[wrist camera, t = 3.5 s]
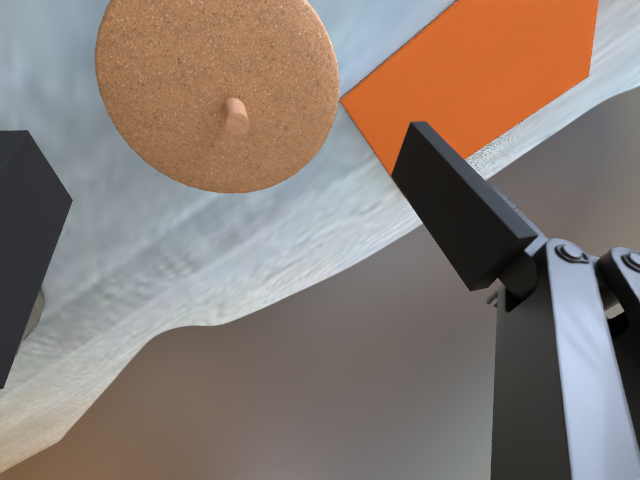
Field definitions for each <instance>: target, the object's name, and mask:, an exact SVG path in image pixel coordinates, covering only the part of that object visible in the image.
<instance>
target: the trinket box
mask: <svg viewBox="0 0 640 480" xmlns="http://www.w3.org/2000/svg"><path fill="white" fill-rule="evenodd" d="M95 65H96V77H97V81H98V86H99V91H100V95H101V97H102V100H103V103H104V105H105V108H106V110H107V113H108V115H109V117H110V118H111V120H112V122H113V123H114V125H115V127H116V129H117V130H118V132H119V133H120V134H121V136H122V137H123V138H124V140H125V141H126V142H127V143H128V145H129V146H130V147H131V148H132V149H133V150H134V151H135V152H136V153H137V154H138V155H139V156H140V157H141V158H142V159H143V160H144V161H146V162H147V163H148V164H150V165H151V166H152V167H154V168H155V169H156V170H158V171H159V172H161V173H163V174H165V175H166V176H168V177H170V178H172V179H173V180H176V181H178V182H180V183H183V184H185V185H187V186H190V187H194V188H197V189H201V190H205V191H211V192H216V193H247V192H252V191H257V190H261V189H264V188H268V187H271V186H274V185H276V184H278V183H280V182H282V181H284V180H286V179H288V178H289V177H291V176H292V175H294V174H296V173H297V172H298V171H299V170H301V169H302V168H303V167H304V166H305V165H306V164H307V163H308V162H309V161H310V160H311V159H312V158H313V157H314V156H315V155H316V154H317V152H318V151H319V149H320V148H321V146H322V145H323V143H324V142H325V140H326V138H327V136H328V134H329V132H330V130H331V128H332V125H333V122H334V119H335V116H336V112H337V106H338V101H339V82H340V81H339V72H338V63H337V59H336V56H335V52H334V48H333V44H332V42H331V40H330V38H329V35H328V33H327V31H326V28H325V26H324V24H323V23H322V21H321V20H320V18H319V16H318V15H317V13H316V12H315V10H314V8H313V7H312V6H311V5H310V4H309V3H308V1H307V0H111V1H110V3H109V4H108V6H107V8H106V11H105V13H104V16H103V19H102V21H101V24H100V26H99V29H98V36H97V42H96V48H95Z"/></svg>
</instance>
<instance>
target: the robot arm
mask: <svg viewBox="0 0 640 480" xmlns="http://www.w3.org/2000/svg"><path fill="white" fill-rule="evenodd" d="M391 177H392V178H393V180H394V181H395V183H396V184H397V186H398V187H399V189H400V190H401V191H402V193H403V194H404V196H405V197H406V199H407V200H408V202H409V203H410V205H411V206H412V208H413V209H414V210H415V212H416V213H417V215H418V216H419V218H420V219H421V221H422V222H423V224H424V225H425V226H426V228H427V229H428V231H429V232H430V234H431V235H432V237H433V238H434V239H435V241H436V243H437V244H438V245H439V247H440V248H441V250H442V251H443V252H444V254H445V256H446V257H447V259H448V260H449V261H450V263H451V264H452V266H453V267H454V268H455V270H456V271H457V273H458V275H459V276H460V277H461V279H462V280H463V282H464V283H465V285H466V286H467V288H468V289H469V291H475V290H479V289H484V288H488V287H489V286H490V285H491V284H492V283H493V282H494V281H495V280H496V278H499V279H500V281H501V282H502V283H503V284H502V285H501V286H500V287H499V288H498V289H497V290H496V291H495V292H494V293H493V294H492V295H491V296H490V297H489V298H488V299H487V302H486V303H487V304H490V303H491V302H492V301H493V300H494V299H495V298H498V300H497V303H496V304H495V305H494V307H497V326H496V353H495V354H496V355H495V377H494V403H493V404H494V405H493V431H492V455H491V480H640V253H638V252H637V251H635V250H631V249H628V248H625V247H615V248H612V249H611V250H610V251H608V252H607V253H606V254H605V255H603V256H602V257H601V256H593V255H587V254H586V253H585V252H584V251H583V250H582V249H581V248H579V247H578V246H577V245H575V244H573V243H571V242H569V241H567V240H563V239H559V238H554V239H553V238H552V239H550V240H549V239H548V238H547V237H546V236H545V235H544V234H543V233H542V232H541V231H540V230H539V229H538V228H537V227H536V226H535V225H534V224H533V223H532V222H531V221H530V220H529V219H528V218H527V217H526V216H525V215H524V214H523V213H522V212H521V211H520V210H517V207H516V206H515V205H514V204H513V203H512V202H509V199H508V198H506V196H505V195H504V194H503V193H502V192H501V191H499V190H498V189H497V188H495V187H493V186H492V185H490V184H489V183H487V182H486V181H485V180H484V179H483V178H482V177H481V176H480V175H479V174H478V173H477V172H476V171H475V170H474V169H473V168H472V167H471V166H470V165H469V164H468V163H467V162H466V161H465V160H464V159H463V158H462V157H461V156H460V155H459V154H458V153H457V152H456V151H455V150H454V149H453V148H452V147H451V146H450V145H449V144H448V143H447V142H446V141H445V140H444V139H443V138H442V137H441V136H440V135H439V134H438V133H437V132H436V131H435V130H434V129H433V128H432V127H431V126H430V125H429V124H428V123H427V122H426V121H417V122H410V124H409V127H408V129H407V132H406V135H405V138H404V141H403V143H402V146H401V149H400V152H399V154H398V157H397V160H396V163H395V166H394V168H393V171H392V174H391ZM72 201H73V200H72V198H71V197H70V195H69V194H68V192H67V190H66V189H65V187H64V186H63V184H62V183H61V181H60V180H59V178H58V177H57V175H56V173H55V172H54V170H53V169H52V167H51V166H50V164H49V163H48V161H47V160H46V158H45V156H44V155H43V153H42V152H41V150H40V149H39V147H38V146H37V144H36V142H35V141H34V139H33V138H32V136H31V135H30V133H29V132H28V130H19V131H0V389H3V388H4V385H5V383H6V380H7V377H8V375H9V372H10V369H11V366H12V364H13V361H14V358H15V356H16V355H17V353H18V350H19V347H20V345H21V342H22V341H23V340H24V339H25V338H26V337H27V336H28V335H29V334H30V333H31V332H32V331H33V330H34V328H35V327H36V326H37V324H38V322H39V319H40V316H41V313H42V310H43V307H44V296H43V294H42V292H41V290H40V288H41V285H42V282H43V280H44V277H45V274H46V271H47V269H48V266H49V263H50V261H51V258H52V255H53V252H54V250H55V247H56V244H57V242H58V239H59V236H60V234H61V231H62V228H63V225H64V223H65V220H66V217H67V215H68V212H69V209H70V206H71V204H72ZM618 303H620V304H621V306H622V308H623V309H624V312H623V313H621V314H619V315H617V316H616V317H614V318H611V319H609V318H607V316H606V315H605V312H604V311H606V310H608V309H609V308H611V307H613V306H614V305H616V304H618Z"/></svg>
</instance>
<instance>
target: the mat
mask: <svg viewBox="0 0 640 480" xmlns="http://www.w3.org/2000/svg"><path fill="white" fill-rule="evenodd" d="M598 2H599V0H457V1H456V2H455V3H454V4H452V5H451V6H450V7H449V8H448V9H447V10H445V11H444V12H443V13H442V14H441V15H439V16H438V17H437V18H436V19H435V20H433V21H432V22H431V23H430V24H429V25H428V26H426V27H425V28H424V29H423V30H422V31H420V32H419V33H418V34H417V35H416V36H415V37H413V38H412V39H411V40H410V41H409V42H407V43H406V44H405V45H404V46H403V47H401V48H400V49H399V50H398V51H397V52H396V53H394V54H393V55H392V56H391V57H390V58H388V59H387V60H386V61H385V62H384V63H382V64H381V65H380V66H379V67H378V68H377V69H375V70H374V71H373V72H372V73H371V74H369V75H368V76H367V77H366V78H365V79H364V80H362V81H361V82H360V83H359V84H358V85H356V86H355V87H354V88H353V89H352V90H350V91H349V92H348V93H347V94H346V95H345V96H343V97H342V98H341V99H340V102H341V103H342V104H343V106H344V107H345V109H346V110H347V112H348V113H349V115H350V116H351V118H352V119H353V121H354V122H355V124H356V125H357V127H358V128H359V130H360V131H361V133H362V134H363V136H364V137H365V139H366V140H367V142H368V143H369V145H370V146H371V148H372V149H373V151H374V152H375V154H376V155H377V157H378V158H379V160H380V161H381V162H382V164H383V165H384V167H385V168H386V170H387V171H388V173H389V174H390V176H391V174H392V171H393V168H394V166H395V163H396V160H397V157H398V154H399V152H400V149H401V146H402V143H403V141H404V138H405V135H406V132H407V129H408V127H409V124H410V122H417V121H426V122H427V123H428V124H429V125H430V126H431V127H432V128H433V129H434V130H435V131H436V132H437V133H438V134H439V135H440V136H441V137H442V138H443V139H444V140H445V141H446V142H447V143H448V144H449V145H450V146H451V147H452V148H453V149H454V150H455V151H456V152H457V153H458V154H459V155H460V156H461V157H462V158H463V159H464V160H465V159H466V158H468V157H469V156H471V155H472V154H474V153H475V152H477V151H478V150H480V149H481V148H482V147H484V146H485V145H487V144H488V143H490V142H491V141H493V140H494V139H496V138H497V137H499V136H500V135H502V134H503V133H505V132H506V131H508V130H509V129H511V128H512V127H514V126H515V125H517V124H518V123H520V122H521V121H523V120H524V119H526V118H527V117H529V116H530V115H532V114H533V113H535V112H536V111H538V110H539V109H541V108H542V107H544V106H545V105H547V104H548V103H550V102H551V101H553V100H554V99H556V98H557V97H559V96H560V95H562V94H563V93H565V92H566V91H568V90H569V89H571V88H572V87H574V86H575V85H576V84H578V83H579V82H581V81H582V80H584V79H585V78H587V77H588V76H589V70H590V62H591V55H592V47H593V40H594V32H595V24H596V17H597V9H598ZM392 179H393V178H392ZM394 182H395V181H394ZM396 185H397V184H396ZM398 188H399V187H398ZM400 191H401V190H400ZM401 192H402V191H401ZM402 194H403V193H402ZM403 195H404V194H403ZM404 197H405V196H404ZM405 198H406V197H405Z"/></svg>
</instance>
